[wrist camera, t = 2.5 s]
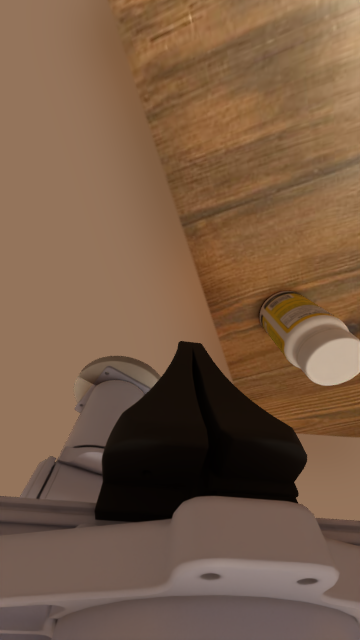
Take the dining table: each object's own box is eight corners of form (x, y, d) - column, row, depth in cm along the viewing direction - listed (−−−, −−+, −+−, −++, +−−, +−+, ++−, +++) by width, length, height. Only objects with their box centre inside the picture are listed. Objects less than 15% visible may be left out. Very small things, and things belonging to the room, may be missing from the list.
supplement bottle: (292, 335, 23) (347, 395, 15) (251, 327, 22) (287, 384, 15) (314, 295, 20) (392, 341, 13) (269, 284, 20) (323, 326, 12)
